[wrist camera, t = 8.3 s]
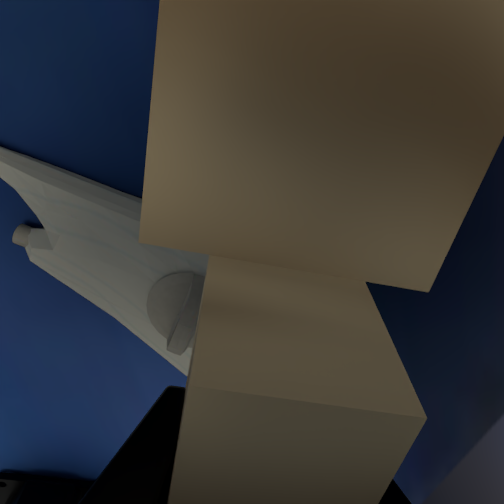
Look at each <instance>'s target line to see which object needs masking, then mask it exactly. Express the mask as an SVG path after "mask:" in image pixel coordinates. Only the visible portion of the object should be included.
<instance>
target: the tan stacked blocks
mask: <svg viewBox="0 0 504 504" xmlns="http://www.w3.org/2000/svg"><path fill="white" fill-rule="evenodd" d="M503 136H504V0H160V3H159V15H158V26H157V37H156V49H155V60H154V71H153V83H152V94H151V105H150V117H149V128H148V139H147V151H146V162H145V173H144V185H143V196H142V207H141V219H140V230H139V241H138V243H143V244H149V245H155V246H161V247H166V248H172V249H178V250H184V251H190V252H196V253H202V254H207V255H209V259H208V264H207V270H206V275H205V281H204V287H203V292H202V298H201V303H200V309H199V315H198V320H197V326H196V331H195V337H194V343H193V348H192V354H191V359H190V365H189V371H188V376H187V382H186V387H185V388H186V391H185V397H184V404H183V410H182V416H181V423H180V429H179V435H178V441H177V447H176V453H175V458H174V464H173V469H172V475H171V480H170V486H169V491H168V497H167V502H166V504H378V503H379V502H380V500H381V498H382V496H383V495H384V493H385V491H386V489H387V488H388V486H389V484H390V482H391V481H392V479H393V477H394V475H395V474H396V472H397V470H398V468H399V467H400V465H401V463H402V461H403V460H404V458H405V456H406V454H407V453H408V451H409V449H410V447H411V446H412V444H413V442H414V440H415V439H416V437H417V435H418V433H419V432H420V430H421V428H422V426H423V425H424V423H425V421H426V419H427V417H426V415H425V412H424V410H423V408H422V406H421V404H420V401H419V399H418V397H417V395H416V393H415V390H414V388H413V386H412V384H411V382H410V379H409V377H408V375H407V373H406V371H405V368H404V366H403V364H402V362H401V360H400V357H399V355H398V353H397V351H396V349H395V346H394V344H393V342H392V340H391V338H390V335H389V333H388V331H387V329H386V327H385V324H384V322H383V320H382V318H381V316H380V313H379V311H378V309H377V307H376V305H375V302H374V300H373V298H372V296H371V294H370V291H369V289H368V287H367V285H366V283H365V282H371V283H377V284H383V285H389V286H395V287H400V288H406V289H412V290H418V291H424V292H429V291H430V288H431V286H432V284H433V282H434V280H435V278H436V276H437V274H438V272H439V270H440V268H441V265H442V263H443V261H444V259H445V257H446V255H447V253H448V251H449V249H450V247H451V245H452V242H453V240H454V238H455V236H456V234H457V232H458V230H459V228H460V226H461V224H462V222H463V219H464V217H465V215H466V213H467V211H468V209H469V207H470V205H471V203H472V201H473V199H474V196H475V194H476V192H477V190H478V188H479V186H480V184H481V182H482V180H483V178H484V176H485V173H486V171H487V169H488V167H489V165H490V163H491V161H492V159H493V157H494V155H495V153H496V150H497V148H498V146H499V144H500V142H501V140H502V138H503Z"/></svg>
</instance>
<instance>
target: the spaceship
mask: <svg viewBox="0 0 504 504" xmlns="http://www.w3.org/2000/svg"><path fill="white" fill-rule="evenodd" d="M0 178H2V179H3V180H4V181H5V182H7V183H8V184H9V185H10V186H12V187H13V188H14V189H15V190H16V191H17V192H18V194H19V195H20V196H21V197H22V198H23V200H24V201H25V202H26V203H27V205H28V206H29V207H30V208H31V209H32V211H33V212H34V213H35V214H36V216H37V217H38V219H39V220H40V222H41V224H42V225H43V227H44V228H32V227H30V226H27V225H24V224H20V225H19V226H18V227H17V228H16V230H15V232H14V234H13V239H12V241H13V243H15V244H18V245H20V246H23V247H25V249H26V252H27V254H28V257H29V259H30V261H31V262H33V263H34V264H36V265H37V266H39V267H40V268H42V269H43V270H45V271H46V272H48V273H49V274H51V275H52V276H53V277H55V278H56V279H58V280H59V281H61V282H62V283H64V284H65V285H67V286H68V287H70V288H71V289H73V290H74V291H76V292H77V293H79V294H80V295H82V296H83V297H85V298H86V299H88V300H89V301H91V302H92V303H94V304H95V305H97V306H98V307H100V308H101V309H103V310H104V311H105V312H107V313H108V314H110V315H111V316H113V317H114V318H115V319H117V320H118V321H119V322H120V323H122V324H123V325H124V326H125V327H127V328H128V329H129V330H130V331H131V332H133V333H134V334H135V335H136V336H138V337H139V338H140V339H141V340H143V341H144V342H145V343H146V344H148V345H149V346H150V347H151V348H152V349H154V350H155V351H156V352H157V353H159V354H160V355H161V356H162V357H164V358H165V359H166V360H167V361H169V362H170V363H171V364H172V365H173V366H175V367H176V368H177V369H178V370H180V371H181V372H182V373H183V374H185V375H186V376H188V371H189V365H190V359H191V354H192V348H193V343H194V337H195V331H196V326H197V320H198V315H199V309H200V303H201V298H202V292H203V287H204V281H205V275H206V270H207V264H208V259H209V255H207V254H202V253H196V252H190V251H184V250H178V249H172V248H166V247H161V246H155V245H149V244H143V243H138V241H139V230H140V219H141V207H142V199H141V198H138V197H135V196H132V195H129V194H127V193H124V192H121V191H119V190H116V189H114V188H111V187H108V186H106V185H103V184H101V183H98V182H96V181H93V180H91V179H88V178H85V177H83V176H80V175H78V174H75V173H73V172H70V171H67V170H65V169H62V168H59V167H57V166H54V165H51V164H48V163H46V162H43V161H40V160H38V159H35V158H32V157H29V156H27V155H24V154H21V153H17V152H14V151H11V150H8V149H6V148H3V147H0Z"/></svg>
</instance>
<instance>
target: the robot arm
mask: <svg viewBox="0 0 504 504" xmlns="http://www.w3.org/2000/svg"><path fill="white" fill-rule="evenodd" d="M185 391H186V388H184V387H178V386H168V387H167V388H166V389H165V390H164V391H163V393H162V394H161V395H160V397H159V398H158V399H157V401H156V402H155V403H154V404H153V406H152V407H151V408H150V410H149V411H148V412H147V414H146V415H145V416H144V418H143V419H142V420H141V422H140V423H139V424H138V426H137V427H136V428H135V430H134V431H133V432H132V433H131V435H130V436H129V437H128V439H127V440H126V441H125V443H124V444H123V445H122V447H121V448H120V449H119V451H118V452H117V453H116V455H115V456H114V457H113V459H112V460H111V461H110V462H109V464H108V465H107V466H106V468H105V469H104V470H103V472H102V473H101V474H100V476H99V477H98V478H97V480H96V481H95V482H86V481H77V480H68V479H59V478H50V477H41V476H32V475H23V474H14V473H6V472H1V473H0V504H166V502H167V497H168V491H169V486H170V480H171V475H172V469H173V464H174V458H175V453H176V447H177V441H178V435H179V429H180V423H181V416H182V410H183V404H184V397H185ZM378 504H411V502H410V501H409V500H408V498H407V497H406V496H405V494H404V493H403V492H402V491H401V489H400V488H399V487H398V485H397V484H396V483H395V481H394V480H393V479H392V481H391V482H390V484H389V486H388V488H387V489H386V491H385V493H384V495H383V496H382V498H381V500H380V502H379V503H378Z"/></svg>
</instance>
